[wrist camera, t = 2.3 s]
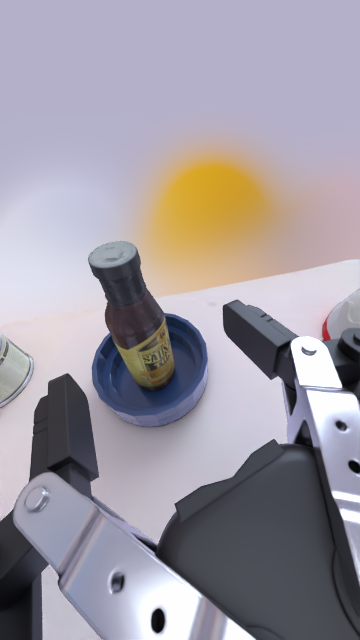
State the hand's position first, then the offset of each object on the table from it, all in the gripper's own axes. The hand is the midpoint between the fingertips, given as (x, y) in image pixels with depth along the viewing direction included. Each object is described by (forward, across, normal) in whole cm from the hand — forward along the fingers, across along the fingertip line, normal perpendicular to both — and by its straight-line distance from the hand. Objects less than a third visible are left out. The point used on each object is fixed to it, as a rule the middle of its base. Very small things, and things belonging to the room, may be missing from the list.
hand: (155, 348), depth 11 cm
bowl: (+13, -1, +18) cm, 23 cm away
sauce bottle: (+13, -1, +18) cm, 23 cm away
